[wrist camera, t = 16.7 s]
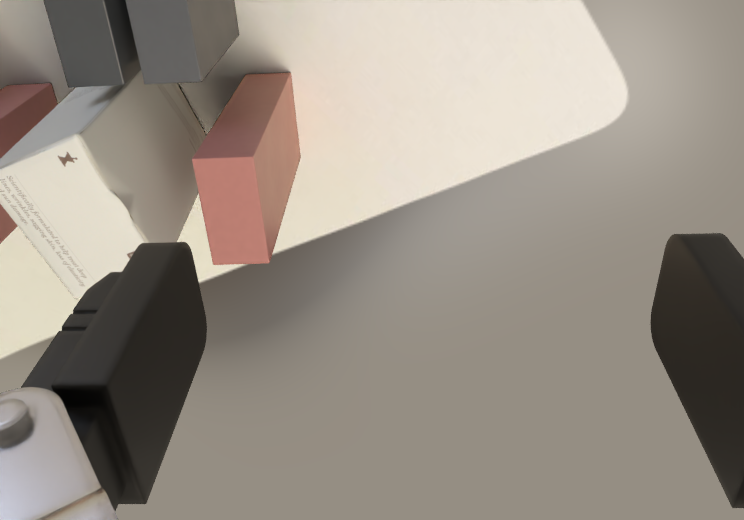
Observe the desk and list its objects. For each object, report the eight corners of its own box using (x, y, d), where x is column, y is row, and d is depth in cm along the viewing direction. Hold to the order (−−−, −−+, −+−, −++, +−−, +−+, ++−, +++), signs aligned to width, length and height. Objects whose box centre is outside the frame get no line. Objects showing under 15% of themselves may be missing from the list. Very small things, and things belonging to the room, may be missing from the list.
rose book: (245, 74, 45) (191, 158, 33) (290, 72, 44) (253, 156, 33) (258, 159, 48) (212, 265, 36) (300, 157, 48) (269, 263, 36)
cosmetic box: (85, 78, 45) (-36, 171, 32) (163, 45, 44) (71, 127, 31) (151, 186, 49) (67, 306, 36) (225, 158, 48) (165, 272, 35)
